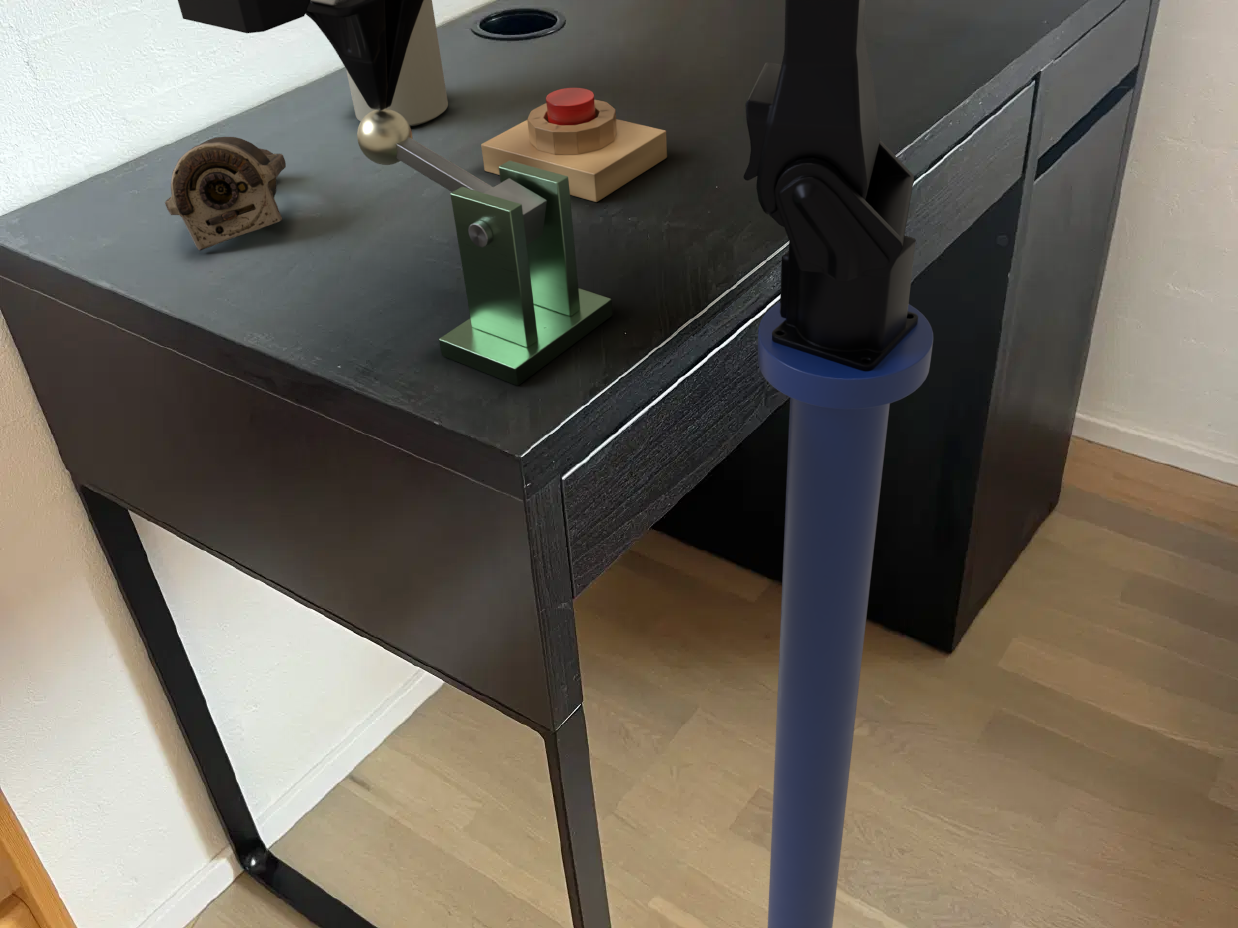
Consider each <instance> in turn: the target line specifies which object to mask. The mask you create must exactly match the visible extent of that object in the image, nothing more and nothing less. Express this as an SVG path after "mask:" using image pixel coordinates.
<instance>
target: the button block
mask: <svg viewBox="0 0 1238 928" xmlns="http://www.w3.org/2000/svg"><path fill="white" fill-rule="evenodd" d="M594 100H595V114H596V118H595V119H593V120H592V121H590V122H587V123H583V124H578V125H556V124H552V123H549V122H548V114H547V104H546V102H545V103H544V104H541V105H539V106H538V107H536V108H534V109H532V110H531V111H530V113H529V114H528V117H527V119H526V120H524V121H522V122H521V123H518V124H516V125H515V126H513V127H511V128H509V129H507V130H505V131H503V132H502V133H500V134H498V135H496V136H494V137H492V138H490V139H488V140H486V141H485V142H483V143H481V145H480V146H481V147H480V148H481V154H482V161H483V169H484V172H487V173H490V174H494V175H498V176H500V174H499V166H501V165H502V164H504V163H506V162H508V161H513V162H517V163H520V164H524V165H528V166H531V167H535V168H539V169H543V170H546V171H550V172H554V173H557V174H561V175H565V176H568V179H569V190H570V196H573V197H576V198H581V199H584V200H587V201H590V202H594V203H598V202H599V201H601V200H602V199H604V198H605V197H607V196H609V195H610V194H612V193H613V192H615V191H617V190H618V189H621V187H623V186H624V185H626V184H627V183H629V182H631V181H632V180H634V179H635V178H638V177H639V176H640V175H642V174H643V173H645V172H646V171H648V170H650V169H651V168H653V167H654V166H656V165H658V164H659V163H661V162H662V161H664V160H665V159H667V158H668V149H667V147H668V146H667V144H668V143H667V130H664V129H660V128H657V127H651V126H648V125H644V124H639V123H635V122H630V121H626V120H622V119H617V111H616V108H614V107H613V106H612V105H611V104H610V103H608V102H607V101H603V100H598V99H595V98H594Z"/></svg>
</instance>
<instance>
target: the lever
mask: <svg viewBox="0 0 1238 928" xmlns="http://www.w3.org/2000/svg"><path fill="white" fill-rule="evenodd" d="M356 139H357V143H358V147H359V149H360V151H361V152H362V154H363V155H364V156H365V158H367V159H369V160H370V161H371V162H373V163H375V164H377V165H380V166H381V165H382V166H391V165H396V164H398V163H400V162H401V163H403V164H405V165H407V166H408V167H409V168H412V169H413V170H414V171H416V172H418V173H419V174H422V175H423V176H425V177H426V178H428V179H429V180H431V181H433V182H435V183H437V185H439V186H441V187H443V188H444V189H446V190H448V191H449V192H450V193H452V192H454V191H455V190H457V189H459V188H461V187H465V188H468V189H472V190H475V191H478V192H482V193H485V194H489V195H492V196H495V197H499V198H502V199H506V200H509V201H513V202H516V203H519V204H522V210H523V219H524V227H525V235H526V244H527V245H528V244H529V243H531V242H532V241H534V240H535V239H537V238H539V237H540V236H542V235H543V227H544V219H545V211H546V203H547V200H545V199H544V198H542V197H540V196H539V195H537V194H535V193H533V192H532V191H530V190H528V189H527V188H525V187H523V186H522V185H520V184H518V183H516V182H515V181H513V180H511V179H510V178H509V179H507V180H505V181H503V182H502V183H501V182H499V183H498V184H496V185H494V186H492V185H491V184H489V183H487V182H486V181H483V180H482V179H480V178H478V177H477V176H475V175H473V174H472V173H470V172H469V171H467V170H466V169H463V168H462V167H460V166H458V165H457V164H455V163H454V162H451V161H450V160H448V159H447V158H445V157H443V156H442V155H440V154H438V153H437V152H435V151H434V150H432V149H430V148H428V147H426V146H425V145H423V144H422V143H420V142H418V141H417V140H415V139H413V131H412V128H411V126H410V125H409V124H408V122H407V121H406V119H405V118H404V117H403V116H402V115H400V114H399V113H397V112H396V111H393V110H390V109H384V110H382V111H378V110H374V111H372V112H370V113H368V114H367V115H366V116H365V117H364V118H363V119H362V121H359V125H358V127H357V134H356Z"/></svg>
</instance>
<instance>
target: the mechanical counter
mask: <svg viewBox="0 0 1238 928" xmlns="http://www.w3.org/2000/svg"><path fill="white" fill-rule="evenodd" d="M286 168H287V163H286V159H285V157H284V155H283V154H282V153H273V152H271V151H269V150H268V149H265V148H260V147H258V146H256V145H255V144H253V143H252V142H250V141H247V140H245V139H243V138H240V137H237V136H216V137H212V138H210V139H207V140H206V141H204V142H202V143H199V144H197V145H194V146H193V147H192V148H190V149H189V150H187V151H186V152H185V153H184V154H182V156H180V158H179V159H178V160H177V162H176V165H175V166H174V168H173V171H172V174H171V179H170V193H171V196H170V197H168V198H167V199H166V200H165V202H164V203H165V208H166V210H167V211H168V213H169V214H170V216H179V217H180V218H181V219H182V221H183V223H184V225H185V226H186V229H187V231H188V233H189V234H190V236H191V239H192V242H194V246H195V247H196V248H197V250H198V251H203V250H205V249H208V248H210V247H213V246H216V245H219V244H221V243H224V242H226V241H229V240H231V239H234V238H238V237H240V236H243V235H247V234H249V233H252V232H255V231H259V230H261V229H264V228H267V227H269V226H272V225H275V224H276V223H279V222H282V221H283V217H282V214H281V212H280V210H279V205H278V203H277V202H276V199H275V197H276V193H277V187H278V186H277V178H278V177H279V175H280V174H281V172H282V171H283V170H285V169H286Z"/></svg>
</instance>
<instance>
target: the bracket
mask: <svg viewBox="0 0 1238 928" xmlns="http://www.w3.org/2000/svg"><path fill="white" fill-rule="evenodd" d="M499 174H500V175H499V181H500V183H502V182H503V181H505V180H507V179H509V178H510V179H511V180H513V181H515V182H516V183H518V184H520V185H522V186H523V187H525V188H527V189H528V190H530V191H532V192H533V193H535V194H537V195H539V196H540V197H542V198H544V199H545V200H547V203H546V211H545V219H544V227H543V235H542V236H540V237H539V238H537V239H535V240H534V241H532V242H531V243H529V244H528V245H527V244H526V235H525V227H524V219H523V210H522V204H519V203H516V202H513V201H509V200H506V199H502V198H499V197H495V196H492V195H489V194H485V193H482V192H478V191H475V190H472V189H468V188H465V187H461V188H459V189H457V190H455V191H454V192H450V200H451V207H452V213H453V218H454V226H455V231H456V237H457V238H456V239H457V244H458V248H459V249H458V250H459V256H460V262H461V268H462V275H463V281H464V286H465V288H464V289H465V293H466V299H467V305H468V313H469V318H468V319H467V320H465V321H464V322H462V323H461V324H459V325H458V326H456V327H454V328H453V329H452V330H450V331H449V332H447V333H446V334H444V335H442V336H441V337H440V338H439V339H438V341H439V347H440V352H441V353H440V354H441V357H444V358H447V359H449V360H451V361H454V362H456V363H460V364H462V365H463V366H467V367H469V368H472V369H474V370H477V371H478V372H479V371H480V372H482V373H485V374H486V375H490V376H492V377H494V378H497V379H499V380H502V381H505V382H507V383H509V384H512V385H515V386H516V387H518V386H520V385H521V384H523V383H524V382H525V381H527V380H528V379H529V378H530V377H532V376H533V375H535V374H536V373H537V372H538V371H540V370H541V369H542V368H544V367H545V366H546V365H548V364H550V363H551V362H552V361H553V360H555V359H556V358H558V357H559V356H560V355H561V354H563V353H564V352H565V351H567V350H569V348H571V347H572V346H574V345H575V344H576V343H577V342H579V341H581V340H582V339H583V338H585V337H586V336H588V334H590V333H591V332H592V331H594V330H595V329H596V328H597V327H600V326H601V325H602V324H603V323H605V322H606V321H607V320H609V319H610V318H612V316H613V305H612V304H613V303H612V299H611V298H609V297H606V296H604V295H600V294H597V293H594V292H592V291H589V290H585V289H582V288H579V279H578V268H577V257H576V246H575V236H574V224H573V213H572V204H571V203H572V202H571V195H570V190H569V179H568V176H565V175H561V174H557V173H554V172H550V171H546V170H543V169H539V168H535V167H531V166H528V165H524V164H520V163H517V162H513V161H508V162H506V163H504V164H502V165H501V166H499Z"/></svg>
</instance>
